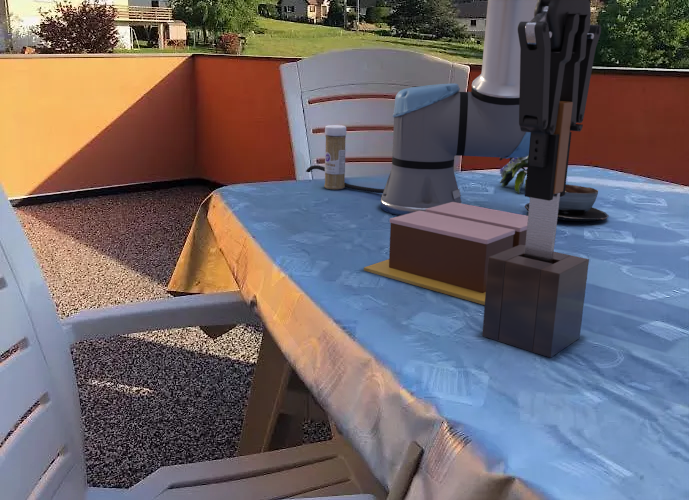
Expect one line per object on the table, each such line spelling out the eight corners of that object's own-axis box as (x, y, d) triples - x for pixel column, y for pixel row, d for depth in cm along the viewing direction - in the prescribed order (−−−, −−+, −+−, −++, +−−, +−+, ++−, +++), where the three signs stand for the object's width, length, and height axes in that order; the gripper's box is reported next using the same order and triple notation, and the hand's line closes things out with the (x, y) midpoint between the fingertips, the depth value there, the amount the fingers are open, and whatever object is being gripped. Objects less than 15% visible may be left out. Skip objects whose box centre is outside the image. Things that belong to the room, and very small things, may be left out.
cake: (363, 270, 98) (365, 218, 96) (444, 243, 113) (447, 197, 111) (489, 306, 86) (494, 247, 83) (563, 270, 100) (568, 219, 98)
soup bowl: (560, 229, 123) (564, 187, 121) (504, 209, 137) (507, 171, 135) (625, 222, 128) (631, 182, 126) (566, 204, 142) (570, 167, 140)
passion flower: (503, 210, 160) (499, 162, 164) (553, 205, 157) (548, 156, 161) (498, 190, 150) (494, 140, 154) (552, 184, 147) (546, 133, 151)
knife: (517, 299, 76) (535, 100, 70) (525, 294, 78) (545, 99, 72) (542, 306, 74) (564, 103, 68) (551, 301, 76) (573, 101, 70)
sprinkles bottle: (320, 188, 153) (320, 125, 150) (333, 185, 157) (334, 124, 153) (336, 191, 151) (337, 127, 147) (349, 188, 154) (350, 125, 150)
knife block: (481, 336, 77) (488, 256, 74) (513, 318, 82) (520, 244, 79) (550, 358, 72) (559, 273, 69) (579, 338, 77) (589, 259, 74)
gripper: (573, -65, 58) (544, 214, 65) (640, -47, 69) (609, 191, 76) (493, -58, 63) (474, 201, 70) (567, -42, 74) (544, 181, 80)
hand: (544, 195), depth 73 cm, fingers closed on knife, 2 cm apart
